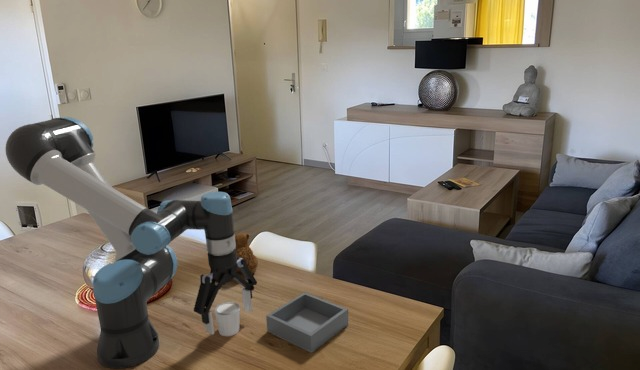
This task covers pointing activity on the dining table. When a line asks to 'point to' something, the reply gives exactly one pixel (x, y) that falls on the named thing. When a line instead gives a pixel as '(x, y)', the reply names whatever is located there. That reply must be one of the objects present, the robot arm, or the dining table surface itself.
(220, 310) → the white cup
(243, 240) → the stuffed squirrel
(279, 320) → the charcoal bin
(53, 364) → the dining table surface
